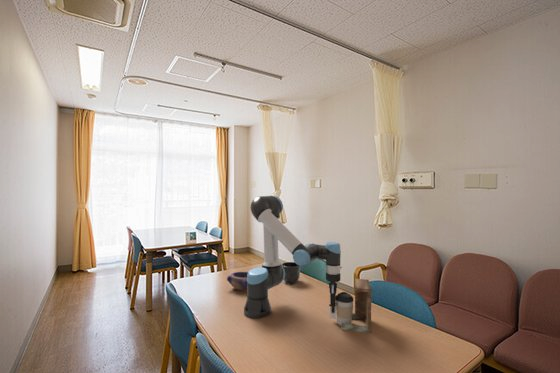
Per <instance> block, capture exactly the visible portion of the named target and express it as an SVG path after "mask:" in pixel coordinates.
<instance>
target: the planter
mask: <svg viewBox="0 0 560 373" xmlns="http://www.w3.org/2000/svg"><path fill="white" fill-rule="evenodd" d="M281 266H282V267H283V269H284V270H285V278H284V280H283V281H284V283H285V284H288V283H289V285H290V284H291V285H294V284H296V283H297V281H299V279H300V277H301V276H300V274H301V265H297V264H296V263H295V262H294V261H292V262H291V261H287V262H283V263H281ZM293 283H294V284H293Z"/></svg>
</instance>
